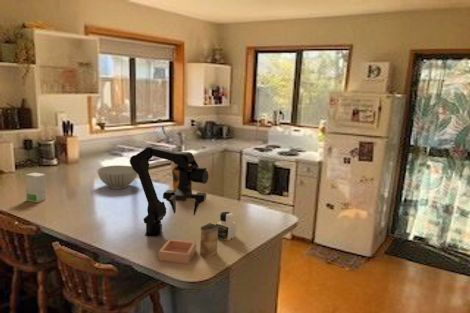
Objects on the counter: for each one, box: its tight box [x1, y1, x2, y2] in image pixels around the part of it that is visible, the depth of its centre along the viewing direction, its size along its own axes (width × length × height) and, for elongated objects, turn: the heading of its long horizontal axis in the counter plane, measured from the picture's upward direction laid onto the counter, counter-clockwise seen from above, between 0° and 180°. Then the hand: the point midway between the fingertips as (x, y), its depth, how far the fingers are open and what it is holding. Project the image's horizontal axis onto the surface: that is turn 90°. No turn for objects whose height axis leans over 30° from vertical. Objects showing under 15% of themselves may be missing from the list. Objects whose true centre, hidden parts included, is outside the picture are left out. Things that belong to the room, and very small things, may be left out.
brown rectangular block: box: [199, 222, 219, 259], centre depth 154 cm, size 5×6×12 cm
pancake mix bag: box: [170, 161, 193, 192], centre depth 234 cm, size 7×19×28 cm, turn 136°
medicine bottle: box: [215, 211, 237, 241], centre depth 173 cm, size 7×7×12 cm
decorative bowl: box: [96, 164, 138, 190], centre depth 246 cm, size 27×27×12 cm
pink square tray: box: [158, 238, 197, 265], centre depth 151 cm, size 12×12×4 cm
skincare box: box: [25, 172, 46, 203], centre depth 209 cm, size 8×7×16 cm
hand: (184, 213), depth 164 cm, fingers open, 9 cm apart
